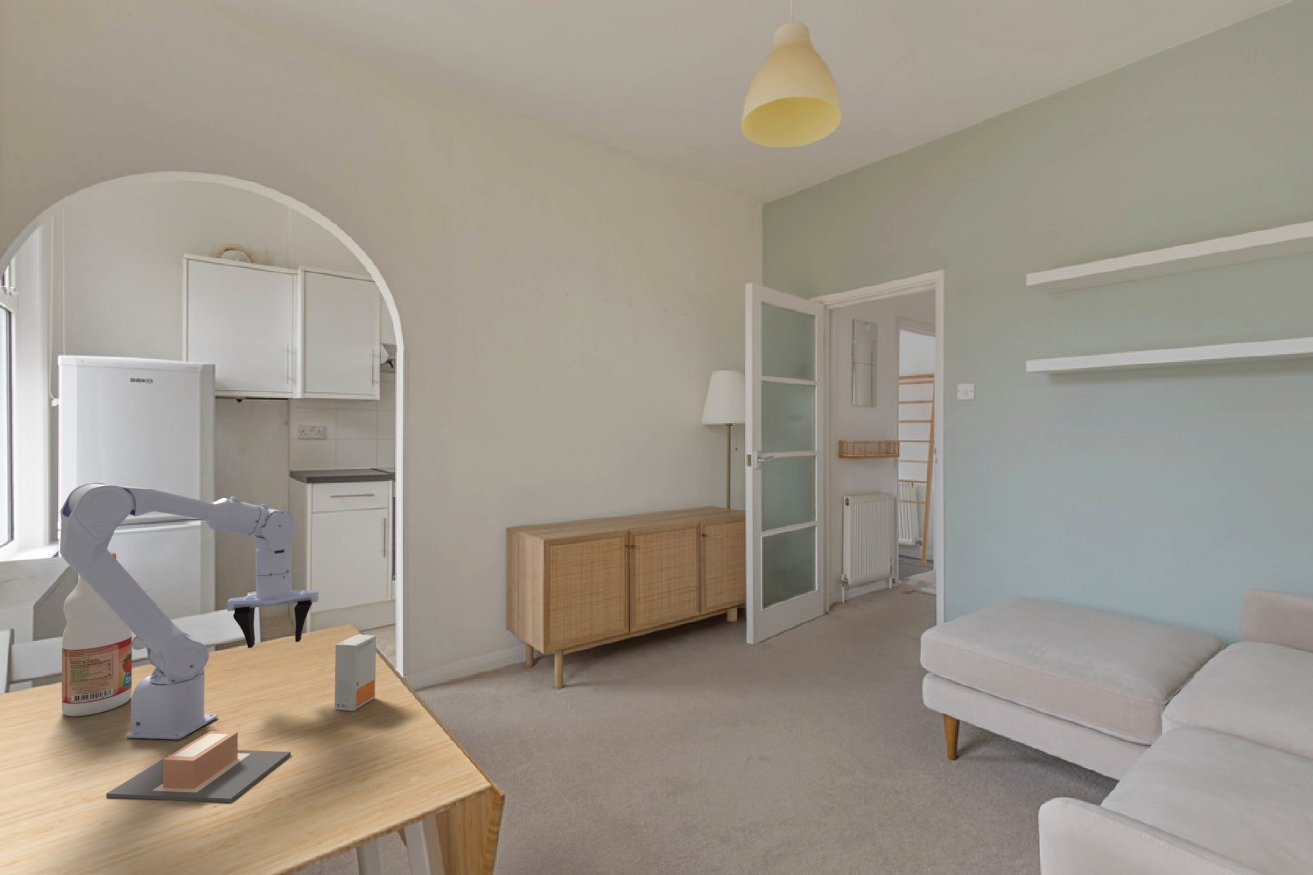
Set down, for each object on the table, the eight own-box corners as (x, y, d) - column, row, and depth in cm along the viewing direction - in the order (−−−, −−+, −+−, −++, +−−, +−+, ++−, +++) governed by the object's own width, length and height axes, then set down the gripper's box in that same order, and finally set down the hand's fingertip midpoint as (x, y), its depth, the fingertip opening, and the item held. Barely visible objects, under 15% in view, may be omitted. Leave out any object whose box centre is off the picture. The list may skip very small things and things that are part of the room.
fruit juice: (50, 711, 107) (51, 557, 107) (115, 691, 115) (115, 548, 115) (78, 721, 103) (78, 561, 103) (142, 699, 112) (143, 551, 112)
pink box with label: (209, 757, 91) (209, 730, 91) (237, 758, 90) (237, 731, 90) (163, 787, 83) (163, 758, 83) (193, 789, 82) (193, 760, 82)
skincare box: (354, 712, 107) (354, 645, 107) (334, 709, 108) (334, 644, 108) (376, 697, 113) (376, 635, 113) (357, 695, 114) (357, 633, 114)
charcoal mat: (106, 796, 81) (106, 792, 81) (181, 751, 93) (181, 747, 93) (230, 802, 80) (230, 798, 80) (290, 754, 92) (290, 751, 92)
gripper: (221, 581, 106) (223, 656, 106) (314, 572, 112) (315, 644, 112) (232, 572, 113) (233, 643, 113) (319, 565, 118) (320, 632, 118)
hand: (275, 643), depth 113 cm, fingers open, 7 cm apart
